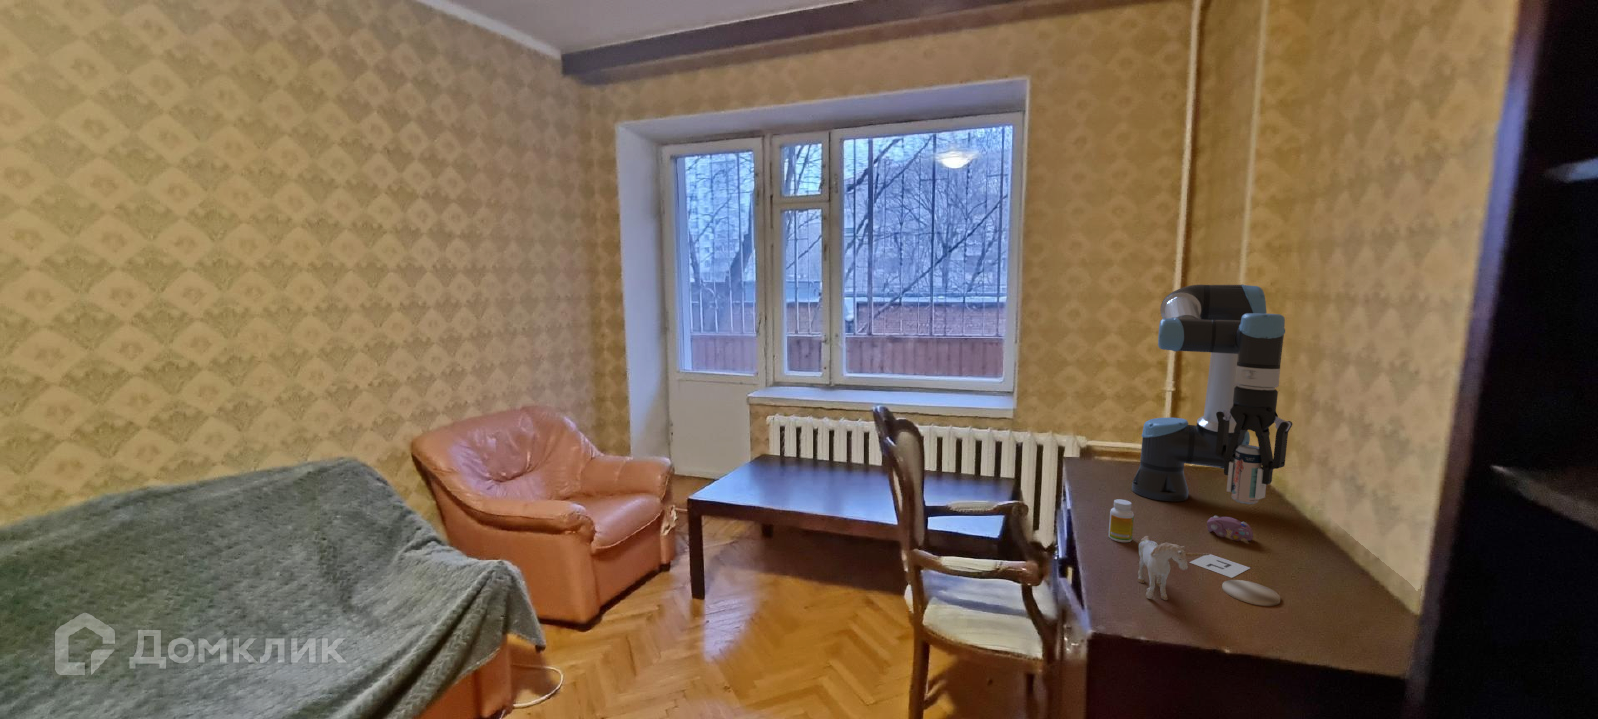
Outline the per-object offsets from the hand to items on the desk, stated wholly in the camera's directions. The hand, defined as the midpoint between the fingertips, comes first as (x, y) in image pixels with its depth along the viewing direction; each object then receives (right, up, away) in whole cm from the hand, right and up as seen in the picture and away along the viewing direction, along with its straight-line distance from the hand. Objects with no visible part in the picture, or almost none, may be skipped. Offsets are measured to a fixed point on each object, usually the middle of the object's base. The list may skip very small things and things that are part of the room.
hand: (1245, 494), depth 137 cm
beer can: (0, -2, 0) cm, 2 cm away
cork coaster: (-1, -20, -3) cm, 21 cm away
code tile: (+1, -19, +11) cm, 22 cm away
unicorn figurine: (-18, -21, -3) cm, 28 cm away
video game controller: (+14, -17, +26) cm, 35 cm away
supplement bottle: (-14, -17, +25) cm, 34 cm away
